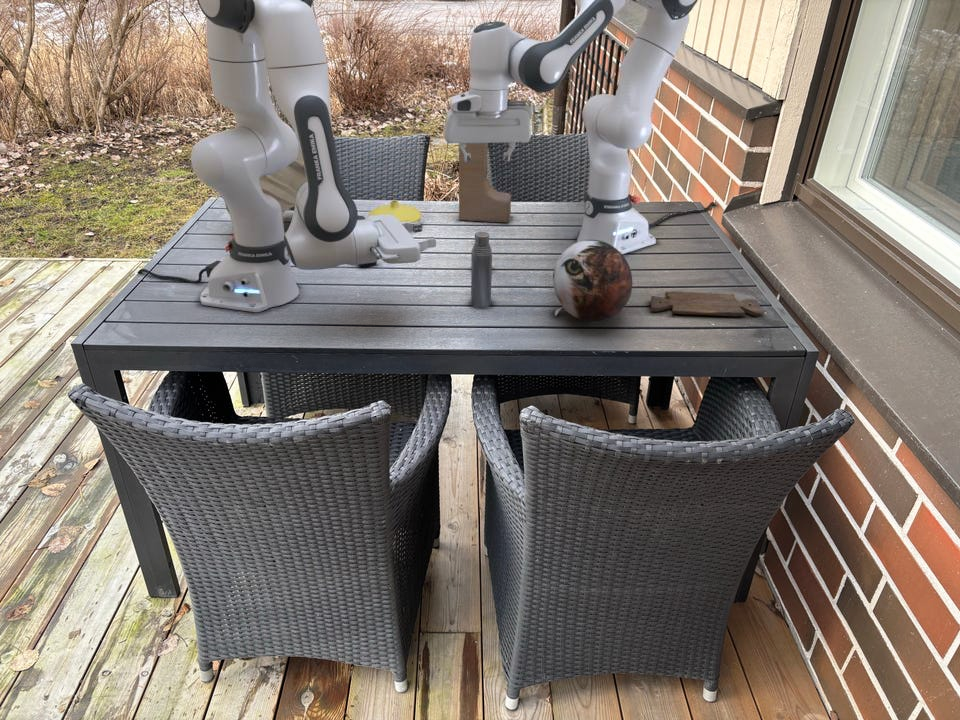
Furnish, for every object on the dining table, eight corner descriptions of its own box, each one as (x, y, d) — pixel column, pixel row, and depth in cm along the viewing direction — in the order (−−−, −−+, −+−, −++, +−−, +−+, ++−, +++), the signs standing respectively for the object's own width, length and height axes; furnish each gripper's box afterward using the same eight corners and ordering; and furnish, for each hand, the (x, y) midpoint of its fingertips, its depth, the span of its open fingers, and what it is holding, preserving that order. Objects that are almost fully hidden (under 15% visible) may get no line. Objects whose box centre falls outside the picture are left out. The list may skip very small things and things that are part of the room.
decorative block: (508, 223, 214) (511, 120, 199) (458, 220, 216) (458, 118, 200) (510, 215, 220) (514, 114, 205) (462, 212, 222) (462, 112, 207)
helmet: (351, 239, 203) (345, 131, 188) (249, 258, 188) (233, 142, 173) (313, 212, 222) (305, 112, 207) (217, 227, 207) (201, 120, 192)
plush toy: (529, 271, 171) (588, 211, 162) (582, 317, 175) (643, 261, 167) (526, 311, 151) (593, 245, 143) (586, 361, 156) (655, 300, 148)
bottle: (492, 300, 169) (494, 231, 160) (488, 309, 165) (489, 238, 156) (473, 298, 170) (474, 229, 161) (468, 306, 166) (469, 236, 157)
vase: (376, 214, 219) (375, 191, 216) (426, 217, 218) (426, 194, 214) (362, 232, 206) (360, 208, 202) (415, 235, 204) (415, 212, 201)
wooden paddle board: (645, 296, 172) (651, 316, 164) (646, 290, 171) (652, 309, 163) (754, 299, 171) (766, 319, 163) (755, 293, 170) (767, 312, 162)
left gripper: (376, 245, 140) (443, 236, 144) (353, 212, 156) (413, 205, 161) (378, 274, 143) (444, 265, 148) (355, 239, 159) (414, 232, 164)
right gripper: (530, 97, 167) (527, 156, 174) (443, 98, 165) (443, 158, 172) (535, 103, 162) (532, 164, 169) (445, 103, 159) (445, 165, 166)
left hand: (428, 234), depth 154 cm, fingers open, 8 cm apart
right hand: (487, 161), depth 170 cm, fingers open, 8 cm apart
